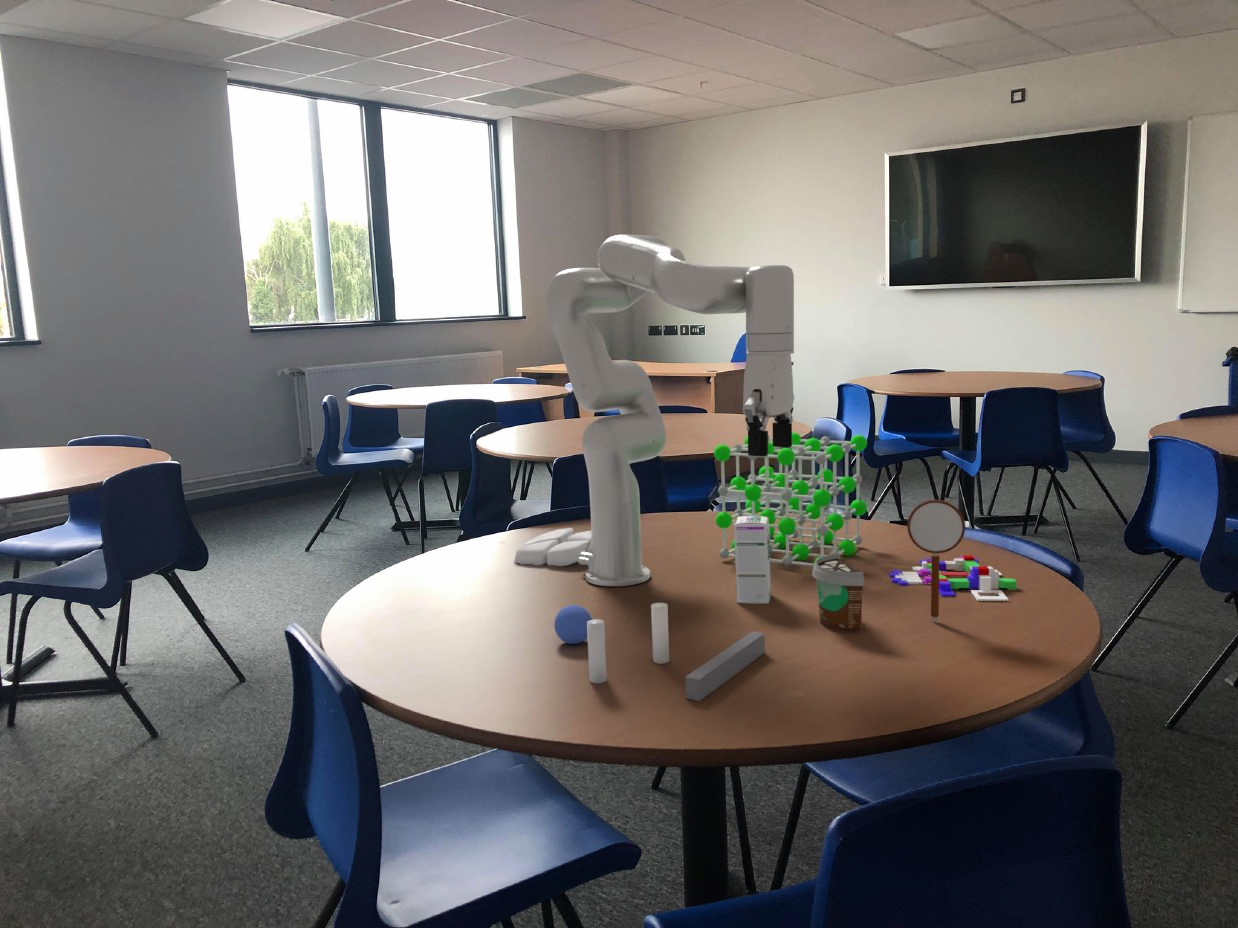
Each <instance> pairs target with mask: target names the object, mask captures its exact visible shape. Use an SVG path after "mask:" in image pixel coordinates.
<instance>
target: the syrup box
mask: <svg viewBox="0 0 1238 928" xmlns="http://www.w3.org/2000/svg"><path fill="white" fill-rule="evenodd" d="M734 521H735V523H733V528H734V533H733V534H734V539H735V552H734V554H735V557H734V559H735V561H734V563H735V582H736V583H735V585H736V586H735V587H736V588H735V589H736V590H735V591H736V603H740V604H754V605H755V604H756V605H757V604H759V605H760V604H765V605H766V604H767V605H768V604H769V603H770V599H771V594H772V591H771V589H772V587H771V586H772V585H771V581H772V580H771V561H770V559H771V553H770V549H769V521H768V517H766V516H741V517H737V518H735V520H734Z"/></svg>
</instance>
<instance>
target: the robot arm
mask: <svg viewBox="0 0 1238 928" xmlns="http://www.w3.org/2000/svg"><path fill="white" fill-rule="evenodd" d="M596 257H597V258H596V261H597V265H598V267H574V268H567V269H565V270H562V271H560V272H558V273H556V274H555V275H554V276H553V277H552V278H551V279H550V280H549V283H548V285H547V287H546V290H545V296H544V297H545V298H544V309H545V315H546V319H547V322H548V324H549V327H550V329H551V331H552V333H553V335H554V337H555V339H556V341H557V345H558V347H559V349H560V352H561V354H562V355H561V356H562V358H563V362H564V364H565V368H566V372H567V375H568V378H569V382H570V384H571V388H572V392H573V394H574V396H575V399H576V401H577V404H578V406H579V407H580V408H581V409H582V410H584V411H586V412H588V413H601V412H609V411H617V410H618V411H619V413H620V414H616V415H608V416H604V417H603V416H602V417H599V418H598V419H594V420H592V422H590V423H589V424H588V425H587V426H586V427H585V429H584V431H583V433H582V438H581V447H582V452H583V456H584V462H585V465H586V470H587V471H586V472H587V476H588V487H589V505H590V508H589V509H590V523H591V524H590V526H591V528H590V529H591V530H592V553H587V552H582V553H581V555H580V558H579V559H578V561H577V562H578V564H579V565H587V566H588V570H586V572H585V581H587V582H588V583H590V584H592V585H596V586H600V587H601V586H602V587H627V586H633V585H637V584H641V583H643V582H646V581H648V580H649V579H650V577H651V570H650V569H649V568H648V567H647V566H644V565H643V560H642V559H643V558H642V554H643V553H642V532H641V530H642V529H641V507H640V506H641V504H640V488H639V487H640V486H639V484H638V480H637V478H636V475H635V474H634V472H633V470H632V468H631V466H630V464H633V463H638V462H639V463H640V462H644V461H648V460H651V459H654V458H656V457H657V456H659V455H660V454H661V453H662V452H663V451H664V449H665V446H666V442H667V440H666V439H667V432H666V428H665V424H664V420H663V417H662V414H661V410H660V408H659V404H658V401H657V397H656V394H655V392H654V389H653V385H652V382H651V379H650V377H649V375H648V373H647V372H646V370H645V369H644V368H643V367H642V366H641V365H640V364H639V363H637V362H635V361H634V360H633V361H632V360H628V359H620V360H612V359H611V357H610V355H609V352H608V349H607V347H606V343H605V340H604V337H603V336H602V334H601V332H600V330H599V329H598V328H597V327H596V326H595V324H594V323H593V322H592V321H591V320H590V319H589V318H588V317H587V314H604V313H619V312H622V311H625V310H626V309H629V308H630V307H631V306H633V305H634V304H636V302H638V301H639V300H641V298H643V297H644V296H645V295H646V294H648V293H652V294H655V295H657V296H658V298H660V299H661V301H663V302H665V304H667V305H671V306H673V307H676V308H680V309H682V310H685V311H689V312H693V313H696V314H701V315H720V314H725V315H726V314H743V313H745V351H746V352H745V354H746V359H745V364H744V365H745V367H744V373H743V375H744V377H743V395H742V396H743V400H742V413H743V414H744V416H745V419H744V420H745V422H746V431H747V437H748V451H747V454H749V455H750V456H764V457H765V456H767V455H768V435H769V430H766V429H767V426H768V422H769V419H771V418H773V420H774V421H775V422H772V438H773V441H772V444H773V446H774V447H785V448H789V447H791V446H792V432H793V426H792V425H793V422H794V419H793V418H794V416H793V411H794V407H793V405H794V400H795V394H794V379H793V378H794V377H793V364H792V356H791V354H792V355H793V354H794V353H795V300H794V299H795V279H794V277H795V275H794V270H793V269H792V268H791V267H790V266H788V265H783V264H775V265H774V264H771V265H770V264H768V265H757V266H752V267H749V266H728V265H726V266H724V265H721V266H719V265H718V266H717V265H715V266H709V265H707V266H706V265H702V264H697V263H693V262H690V261H686V258H685V256H684V254H683V252H682V251H681V250H680V249H679V248H677V247H675V246H671V245H668V243H666V241H664V240H663V239H661V238H660V237H657V236H654V235H648V234H647V235H646V234H643V235H641V234H627V233H626V234H617V235H614V236H610V237H608V238H607V239H605V241H603V242H602V244H601V245H600V247H599V249H598V251H597V256H596ZM760 419H761V420H760ZM789 449H790V448H789ZM591 530H590V531H591Z"/></svg>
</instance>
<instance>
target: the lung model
mask: <svg viewBox="0 0 1238 928" xmlns="http://www.w3.org/2000/svg"><path fill="white" fill-rule="evenodd" d="M574 532H575V530H574V529H573V528H572V527H567V528H558V529H554V530H551V531H548V532H545V533H543V534H539V535H537V536H535V537H533V538H531V539H530V540H528V541H527V542H525V543H524V544H523V545H521V546H520V547H519V548H518V549H517V550H516V552H515V556H514V561H513V562H514V563H515V564H517V563H520V564H519V565H523V564H533V565H532V566H541V565H540V564H543V565H544V563H545V564H547V566H548V565H550V566H549V567H552V566H551V565H556V566H555V567H567V566H570V565H572V564H575V563H577V562H578V559H579V558H580V555H581V553H582V552H587V553H591V554H593V552H592V530H586V531H581V532H580V531H579V532H576V533H574ZM546 562H547V563H546Z"/></svg>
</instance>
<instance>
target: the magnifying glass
mask: <svg viewBox="0 0 1238 928" xmlns="http://www.w3.org/2000/svg"><path fill="white" fill-rule="evenodd" d="M906 525H907V533H908V536H909V538H910V540H911V541H912V543H913V544H914V545H915V546H916V547H918V548H919V549H920V550H922V551H923V552H926V553H930V554H932V555H931V559H932V562H931V584H930V616H931V621H933V623H936V622H937V621H938V617H940V615H939V610H940V609H939V608H940V593H939V561H940V555H939V554H944V553H947V552H950V551H951V550H953V549H955V548H956V547H957V546H958V545H960V543H961V542H962V540H963V538H964V536H965V532H966V522H965V519H964V516H963V514H962V513H961V511H960V510H959V509H958V508H957V507H956V505H954V504H952V503H951V502H949V501H946V500H943V499H930V500H926V501H923V502H921V503H919V504H918V505H917V506H915V508H913V509H912V511H911V513H910V514H909V516H908V519H907V524H906Z"/></svg>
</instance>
